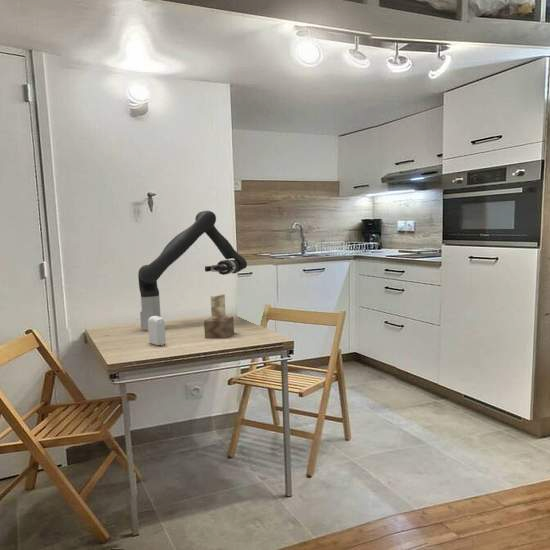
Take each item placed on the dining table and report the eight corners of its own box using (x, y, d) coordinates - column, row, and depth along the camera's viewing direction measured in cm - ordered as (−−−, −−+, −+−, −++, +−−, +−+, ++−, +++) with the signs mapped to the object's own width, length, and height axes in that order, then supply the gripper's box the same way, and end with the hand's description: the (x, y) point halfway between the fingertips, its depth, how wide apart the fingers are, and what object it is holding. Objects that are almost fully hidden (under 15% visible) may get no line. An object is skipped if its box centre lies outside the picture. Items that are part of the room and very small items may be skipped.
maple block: (211, 319, 215) (210, 296, 215) (215, 317, 220) (214, 294, 219) (222, 319, 214) (220, 295, 213) (225, 317, 219) (224, 294, 218)
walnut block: (204, 338, 213) (204, 321, 212) (214, 333, 225) (213, 316, 224) (225, 338, 211) (224, 321, 210) (234, 333, 222) (233, 316, 222)
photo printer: (147, 343, 207) (146, 315, 206) (156, 341, 210) (155, 314, 209) (158, 346, 199) (156, 317, 198) (167, 344, 202) (165, 316, 201)
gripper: (213, 260, 249) (200, 262, 234) (238, 259, 245) (226, 261, 230) (214, 274, 250) (201, 277, 234) (239, 273, 246) (227, 276, 230)
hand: (213, 269), depth 232 cm, fingers open, 8 cm apart
